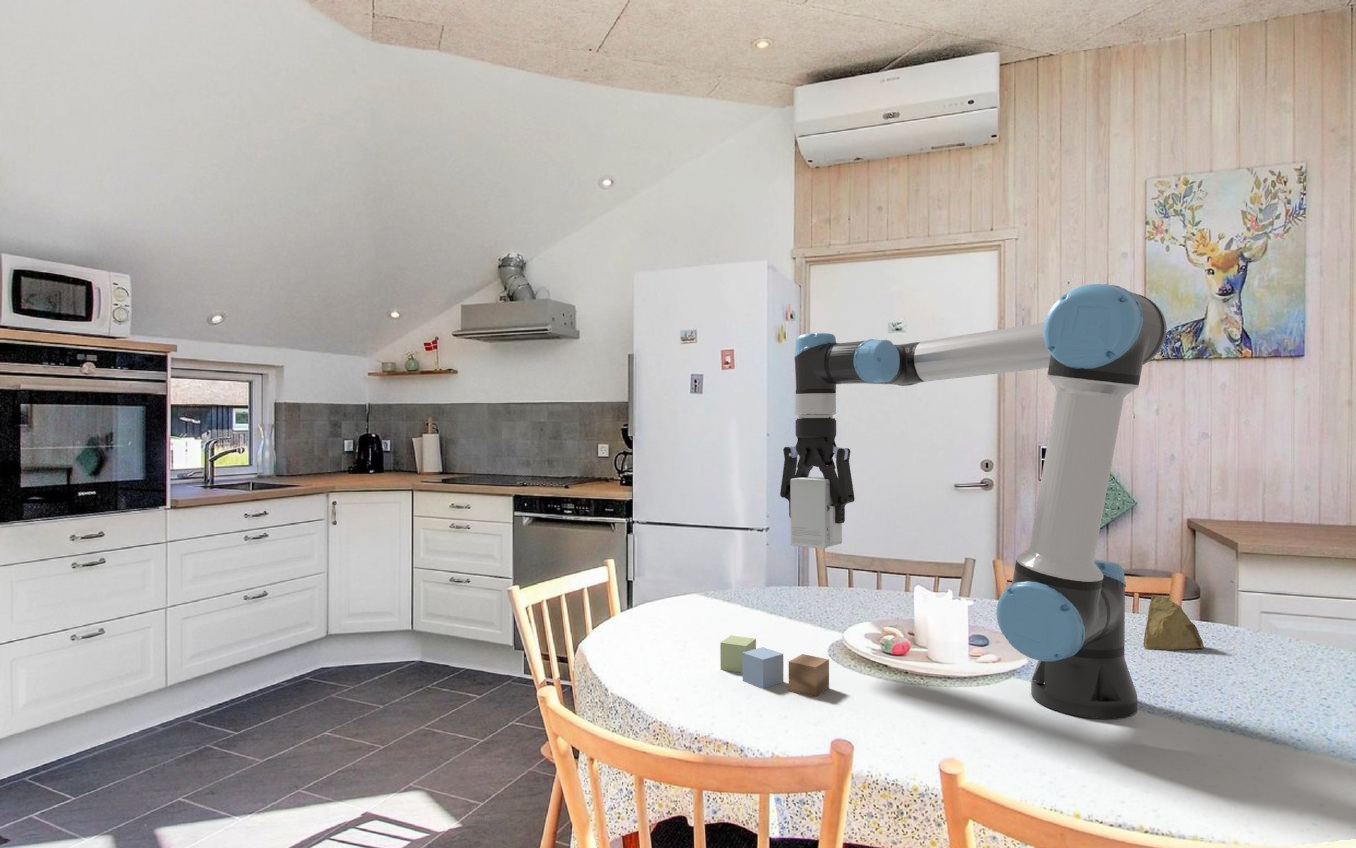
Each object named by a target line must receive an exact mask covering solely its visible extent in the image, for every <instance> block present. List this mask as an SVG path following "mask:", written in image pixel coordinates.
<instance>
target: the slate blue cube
mask: <svg viewBox="0 0 1356 848" xmlns="http://www.w3.org/2000/svg"><path fill="white" fill-rule="evenodd" d="M742 682H745V683H748V684H751V685H753V686H756V687H758V688H761V689H766V688H769V687H772V686H776V685H779V684H781V683H784V653H782V652H779V651H777V650H773V649H770V648H767V647H763V646H761V647H758V648H756V649H754V650H750V651H747V652H743V673H742Z"/></svg>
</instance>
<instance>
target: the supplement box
mask: <svg viewBox="0 0 1356 848" xmlns="http://www.w3.org/2000/svg"><path fill="white" fill-rule="evenodd" d="M831 504H833V502H832V499H831V496H830V481H829V480H828V479H824V476H808V477H803V478H794V479H791V518H790V546H794V547H795V546H796V547H804V548H812V549H821V550H826V549H828V548H830V547H833V546H837V545H841V544H842V543H843V542H842V540H841V541H836V542H830V526H829V506H832V505H831Z"/></svg>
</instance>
